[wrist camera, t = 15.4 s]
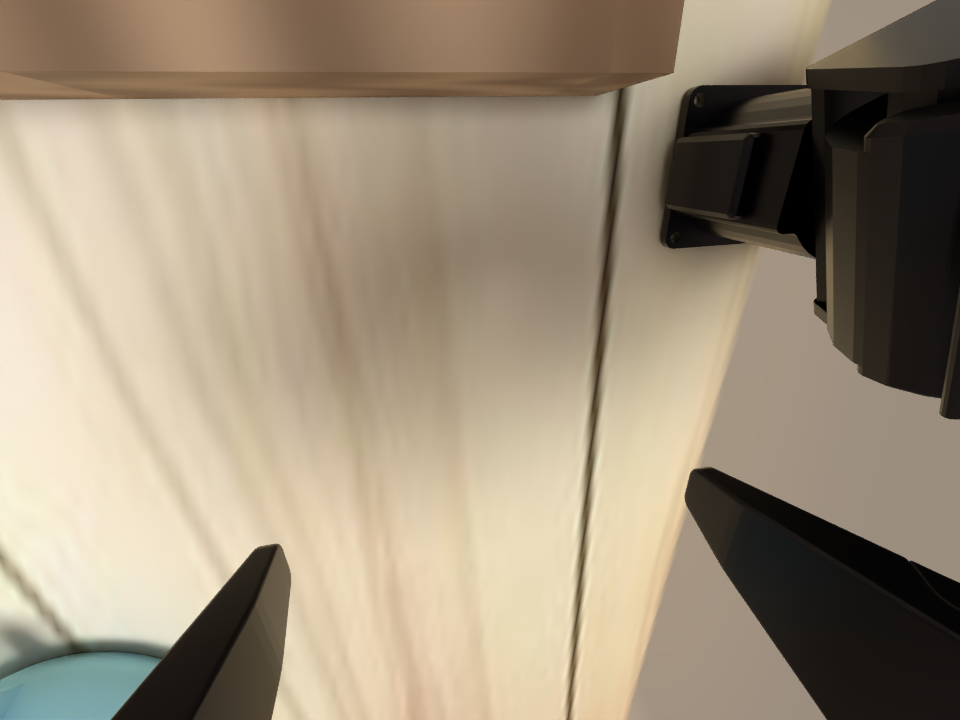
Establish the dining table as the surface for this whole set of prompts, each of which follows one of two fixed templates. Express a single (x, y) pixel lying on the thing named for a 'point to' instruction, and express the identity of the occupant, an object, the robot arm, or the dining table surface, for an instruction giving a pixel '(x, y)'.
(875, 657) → the robot arm
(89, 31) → the brown shallow open box
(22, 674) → the teapot
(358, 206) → the dining table surface
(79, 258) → the dining table surface
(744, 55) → the dining table surface
